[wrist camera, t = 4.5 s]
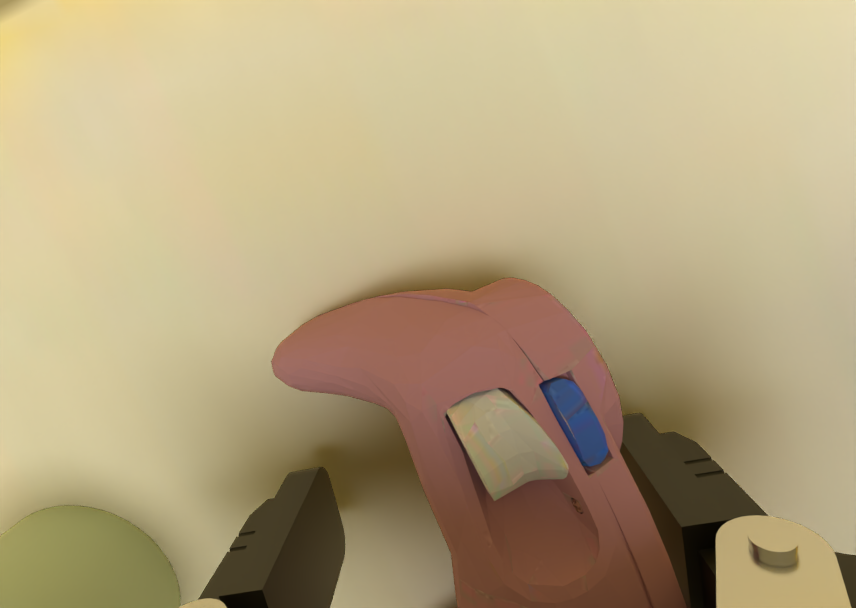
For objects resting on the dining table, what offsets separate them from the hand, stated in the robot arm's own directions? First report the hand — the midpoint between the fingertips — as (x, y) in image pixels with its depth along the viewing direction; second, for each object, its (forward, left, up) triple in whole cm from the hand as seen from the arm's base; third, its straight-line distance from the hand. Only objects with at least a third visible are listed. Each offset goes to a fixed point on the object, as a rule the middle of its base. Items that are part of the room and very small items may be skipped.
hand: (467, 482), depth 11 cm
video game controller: (0, 0, -1) cm, 1 cm away
